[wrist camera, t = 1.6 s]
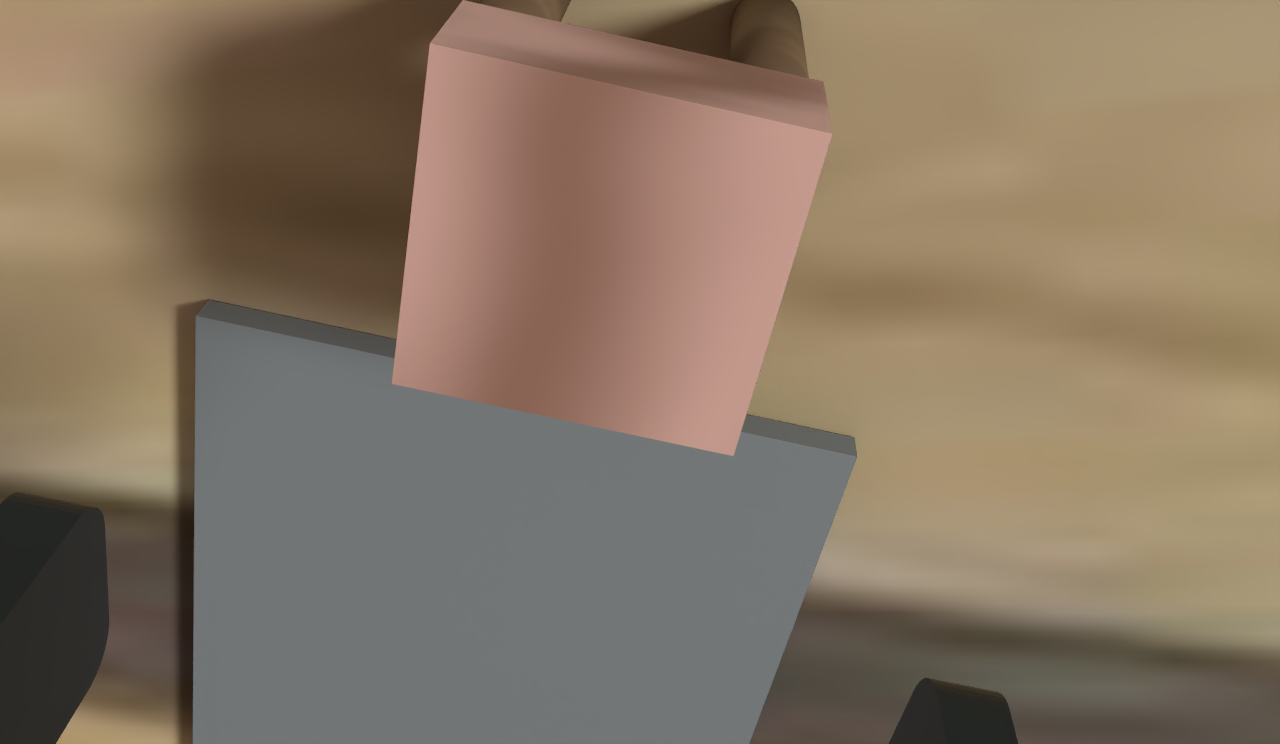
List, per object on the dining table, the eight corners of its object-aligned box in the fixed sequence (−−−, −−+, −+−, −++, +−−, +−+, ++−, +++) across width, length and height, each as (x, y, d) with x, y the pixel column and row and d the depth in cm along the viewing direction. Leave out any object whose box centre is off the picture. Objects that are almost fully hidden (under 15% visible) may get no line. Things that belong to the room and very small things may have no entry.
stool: (808, -2, 24) (832, 133, 18) (736, 260, 27) (732, 456, 21) (514, -69, 24) (430, 43, 17) (475, 203, 27) (391, 383, 20)
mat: (854, 437, 30) (857, 456, 29) (677, 915, 40) (676, 936, 39) (208, 299, 29) (195, 315, 28) (201, 822, 39) (192, 843, 39)
